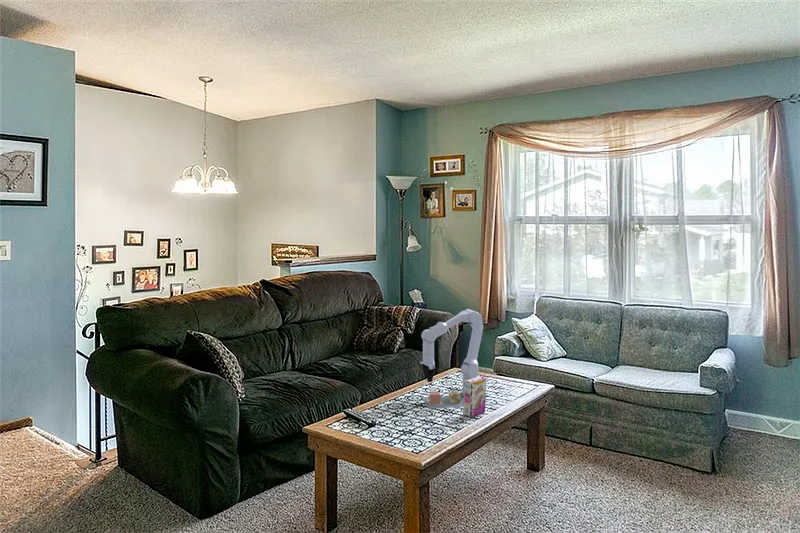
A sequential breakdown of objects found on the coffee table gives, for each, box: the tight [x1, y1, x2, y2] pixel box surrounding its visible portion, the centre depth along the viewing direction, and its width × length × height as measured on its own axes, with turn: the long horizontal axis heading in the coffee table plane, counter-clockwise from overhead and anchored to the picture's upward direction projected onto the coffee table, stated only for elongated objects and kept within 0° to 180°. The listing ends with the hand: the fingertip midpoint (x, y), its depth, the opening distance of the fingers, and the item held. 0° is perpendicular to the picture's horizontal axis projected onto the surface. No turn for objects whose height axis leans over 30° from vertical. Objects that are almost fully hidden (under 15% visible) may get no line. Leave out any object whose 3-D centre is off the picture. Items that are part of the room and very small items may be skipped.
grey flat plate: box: [421, 396, 464, 409], centre depth 274 cm, size 20×16×1 cm
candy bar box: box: [462, 376, 487, 418], centre depth 257 cm, size 11×5×16 cm, turn 134°
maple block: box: [448, 390, 461, 403], centre depth 274 cm, size 4×4×4 cm
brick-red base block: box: [429, 391, 441, 404], centre depth 273 cm, size 4×4×4 cm
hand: (428, 379), depth 280 cm, fingers open, 7 cm apart
